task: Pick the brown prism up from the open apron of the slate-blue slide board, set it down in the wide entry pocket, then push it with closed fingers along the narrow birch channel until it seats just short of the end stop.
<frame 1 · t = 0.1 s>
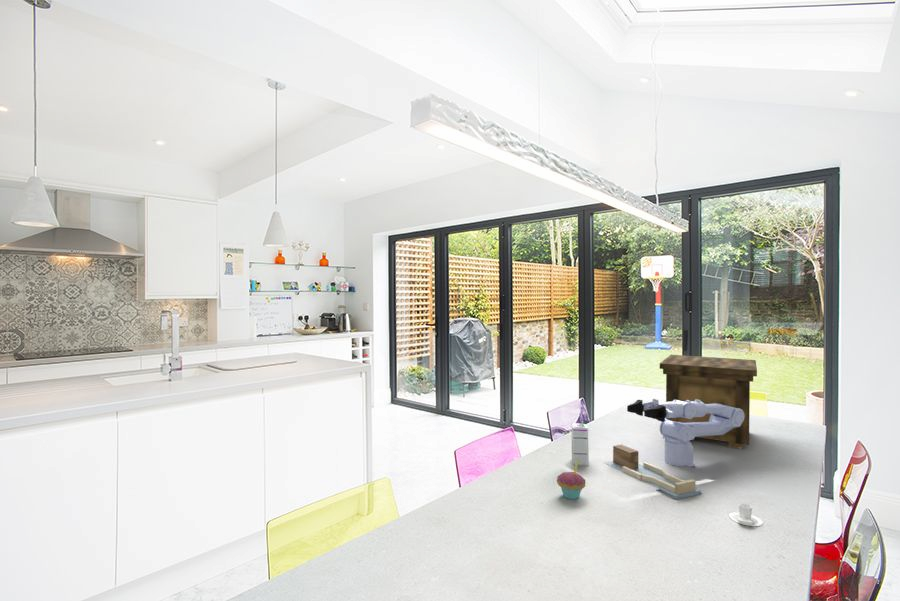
hand: (636, 410, 162), 22 cm above the table, tool horizontal, fingers open, 7 cm apart
syrup box: (579, 465, 170), on the table
brown prism: (625, 465, 167), point 1 cm above the table, touching slide board
cupcake: (570, 496, 144), on the table
slide board: (647, 477, 158), on the table
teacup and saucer: (733, 521, 129), on the table
crate: (708, 435, 207), on the table
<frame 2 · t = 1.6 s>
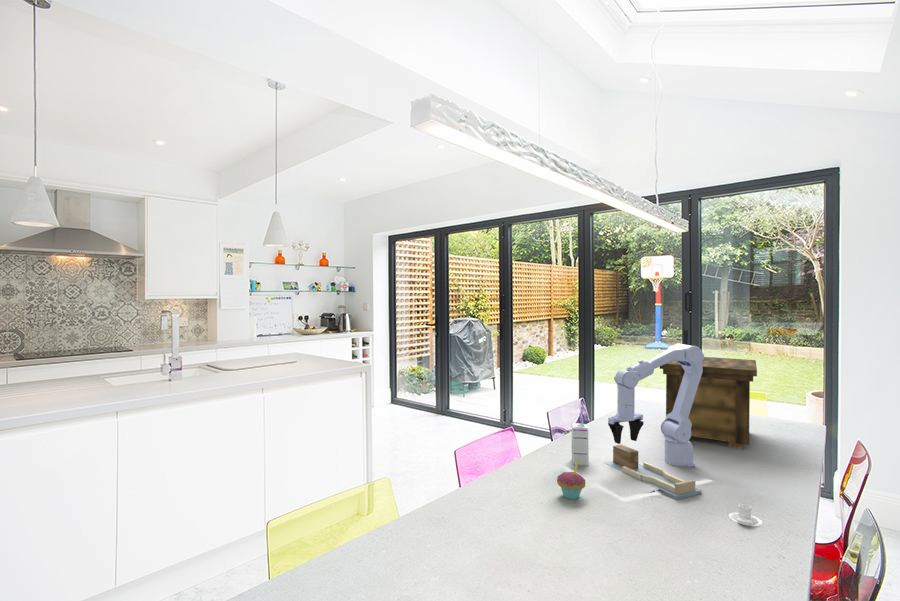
hand: (625, 441, 167), 9 cm above the table, tool pointing down, fingers open, 7 cm apart
nothing on the table moved.
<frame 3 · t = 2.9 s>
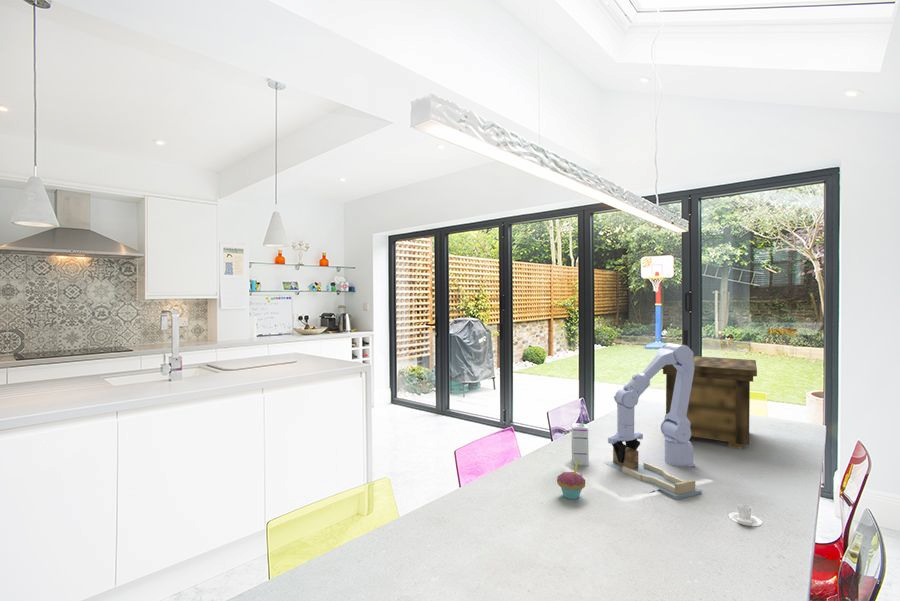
hand: (625, 461, 167), 2 cm above the table, tool pointing down, fingers closed on brown prism, 4 cm apart
brown prism: (625, 465, 167), point 1 cm above the table, touching gripper, slide board
everything else where it was.
when the fingers open (4 cm above the table, at t = 6.2 s): brown prism drops 1 cm, resting on slide board.
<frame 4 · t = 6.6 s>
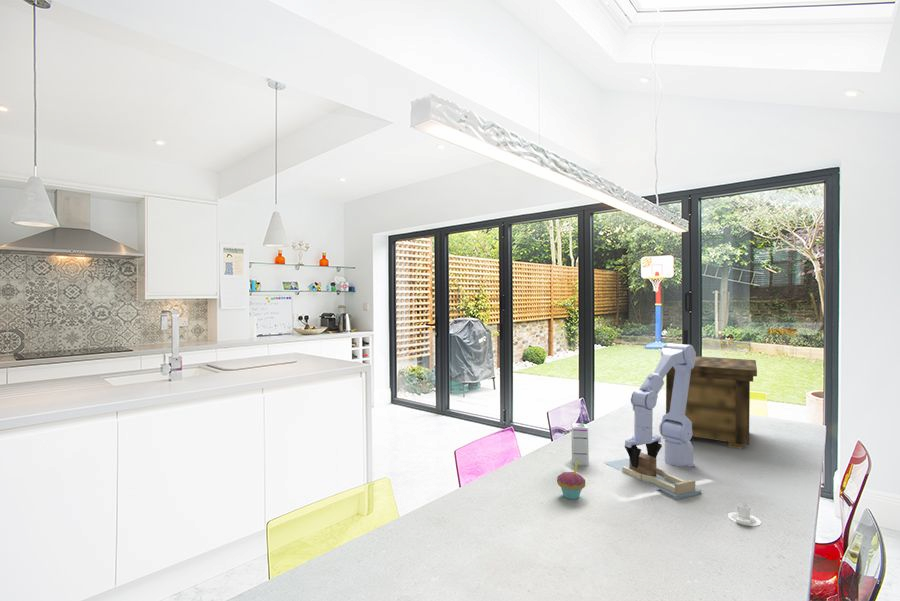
hand: (643, 465, 160), 4 cm above the table, tool pointing down, fingers open, 7 cm apart
brown prism: (642, 472, 160), point 1 cm above the table, touching slide board
everything else where it was.
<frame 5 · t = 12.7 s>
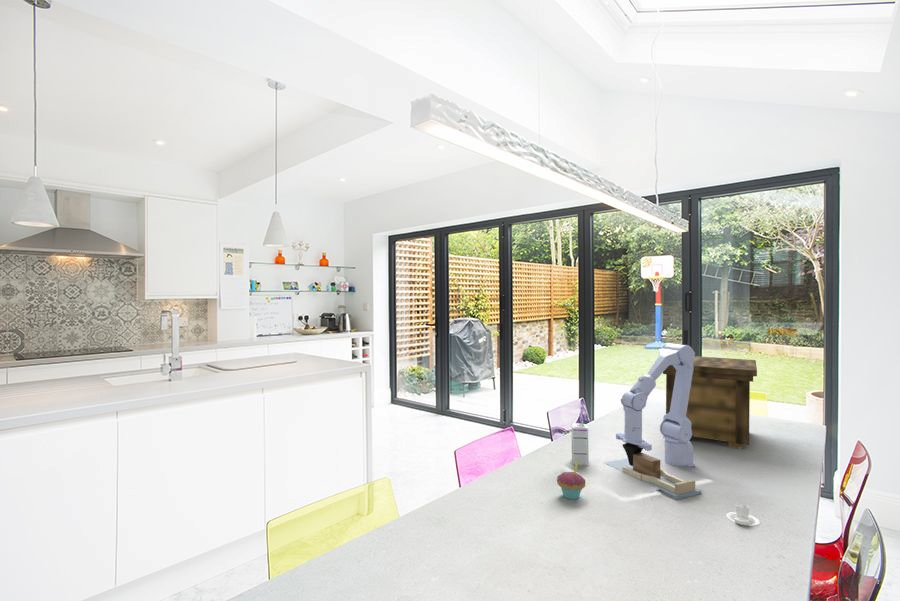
hand: (632, 465, 164), 2 cm above the table, tool pointing down, fingers closed
brown prism: (646, 474, 159), point 1 cm above the table, touching gripper
everything else where it was.
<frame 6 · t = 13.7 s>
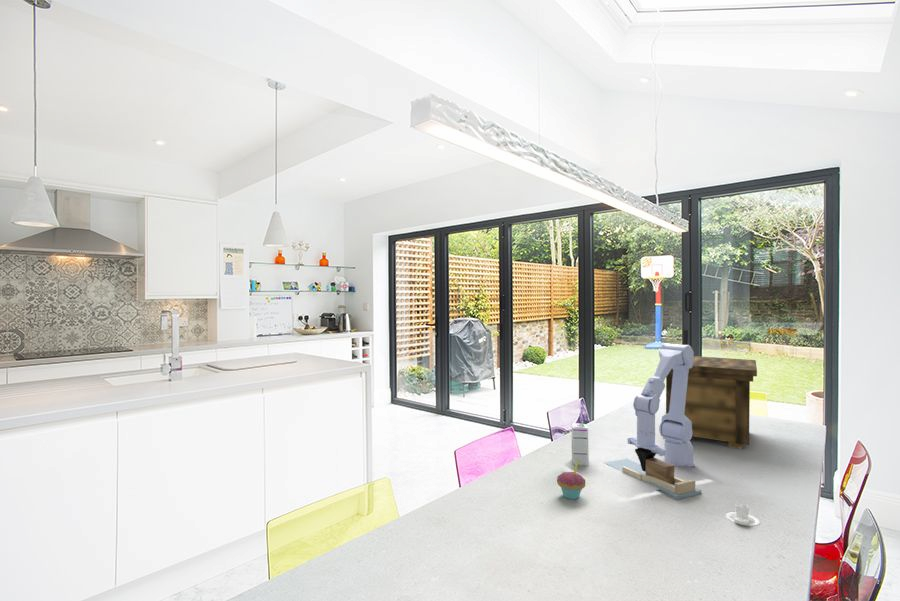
hand: (645, 470, 159), 2 cm above the table, tool pointing down, fingers closed
brown prism: (659, 480, 153), point 1 cm above the table, touching gripper
everything else where it was.
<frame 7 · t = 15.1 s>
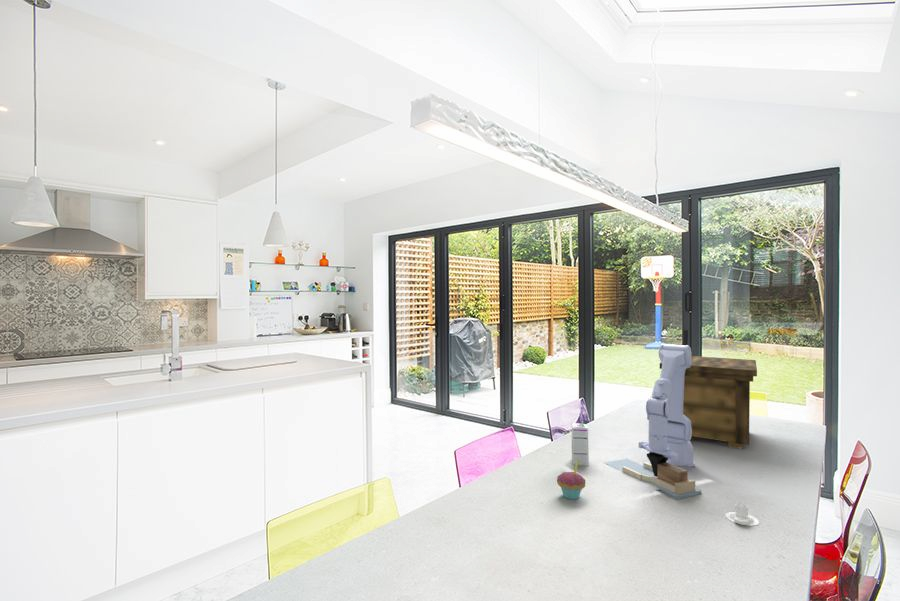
hand: (657, 475, 154), 2 cm above the table, tool pointing down, fingers closed
brown prism: (672, 486, 149), point 1 cm above the table, touching gripper, slide board
everything else where it was.
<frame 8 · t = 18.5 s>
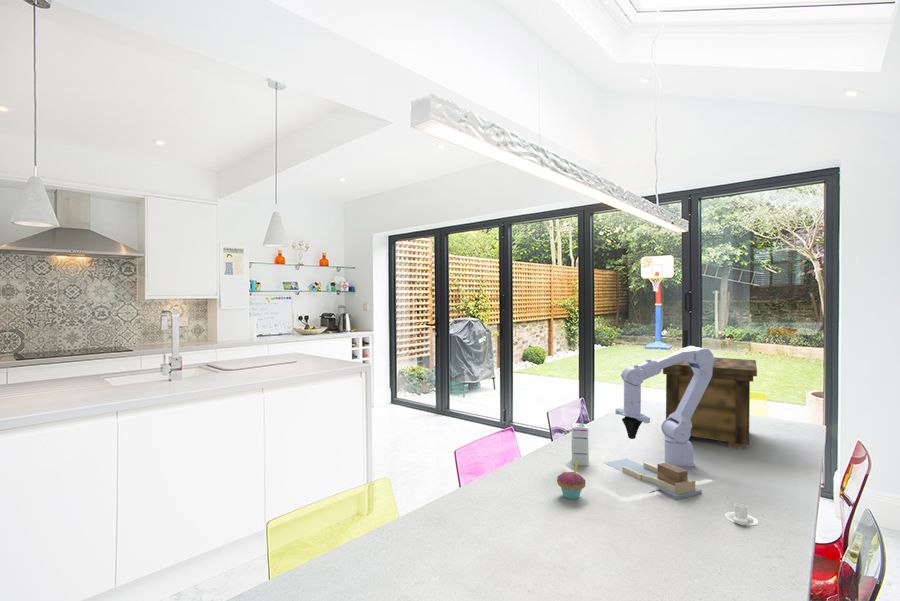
hand: (631, 438, 170), 10 cm above the table, tool pointing down, fingers closed
brown prism: (672, 486, 149), point 1 cm above the table, touching slide board
at the end: brown prism 1.1 cm from the target spot on the slide board, point 1.0 cm above the slide board's base; brown prism tilted 0°; the gripper is holding nothing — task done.
